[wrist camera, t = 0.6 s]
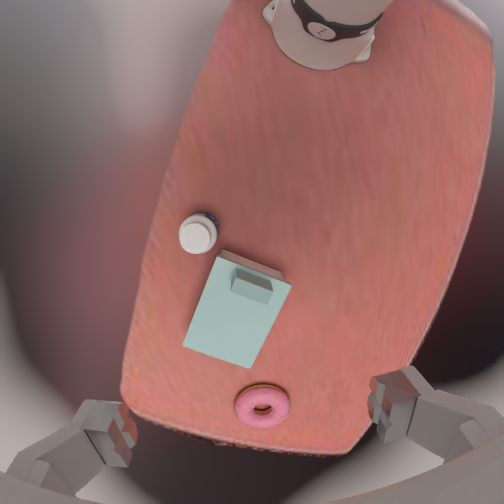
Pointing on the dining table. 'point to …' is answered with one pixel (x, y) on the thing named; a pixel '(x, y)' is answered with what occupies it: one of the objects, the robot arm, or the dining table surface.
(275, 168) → the dining table surface
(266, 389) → the doughnut
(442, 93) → the dining table surface
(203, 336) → the lid
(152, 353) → the dining table surface
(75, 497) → the robot arm
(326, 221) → the dining table surface
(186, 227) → the pill bottle
